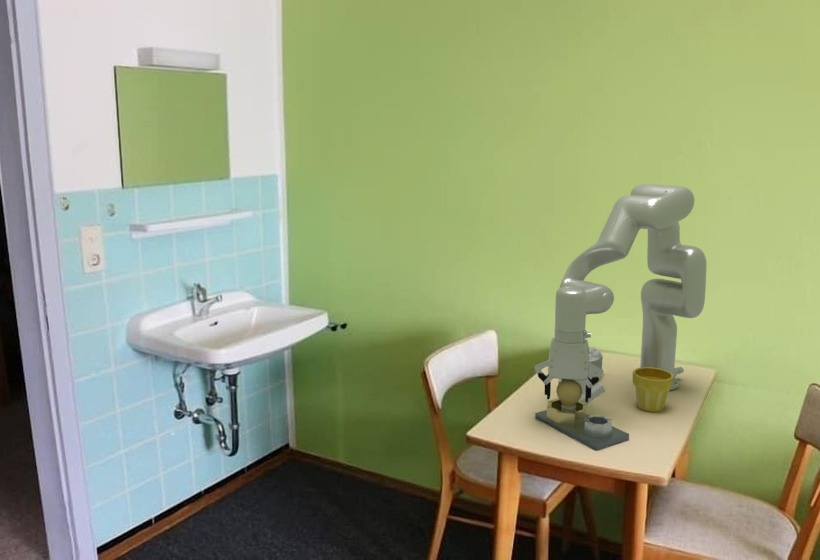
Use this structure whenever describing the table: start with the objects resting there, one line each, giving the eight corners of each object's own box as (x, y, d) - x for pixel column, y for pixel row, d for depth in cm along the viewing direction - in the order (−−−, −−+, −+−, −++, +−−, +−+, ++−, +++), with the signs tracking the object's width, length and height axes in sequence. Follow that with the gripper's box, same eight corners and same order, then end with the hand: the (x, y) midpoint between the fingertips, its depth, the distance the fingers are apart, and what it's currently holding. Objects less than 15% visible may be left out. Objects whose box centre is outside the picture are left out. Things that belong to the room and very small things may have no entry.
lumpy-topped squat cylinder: (559, 379, 212) (560, 352, 210) (575, 366, 223) (576, 340, 221) (592, 385, 207) (594, 357, 205) (607, 372, 217) (608, 346, 215)
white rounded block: (579, 409, 189) (569, 374, 189) (564, 411, 193) (554, 376, 193) (605, 391, 202) (595, 358, 202) (590, 392, 205) (581, 360, 205)
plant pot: (674, 404, 192) (677, 370, 190) (666, 417, 183) (668, 382, 181) (636, 397, 197) (638, 364, 195) (626, 409, 189) (628, 375, 187)
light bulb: (567, 423, 177) (568, 386, 175) (550, 414, 183) (551, 378, 181) (586, 418, 180) (587, 381, 178) (569, 409, 186) (570, 374, 184)
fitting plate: (566, 409, 190) (566, 393, 189) (628, 439, 171) (629, 422, 170) (535, 418, 184) (535, 402, 183) (596, 450, 166) (596, 433, 165)
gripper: (604, 333, 178) (602, 396, 182) (536, 329, 182) (534, 391, 186) (605, 342, 171) (602, 407, 175) (533, 337, 175) (532, 401, 179)
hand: (567, 398), depth 181 cm, fingers open, 9 cm apart
